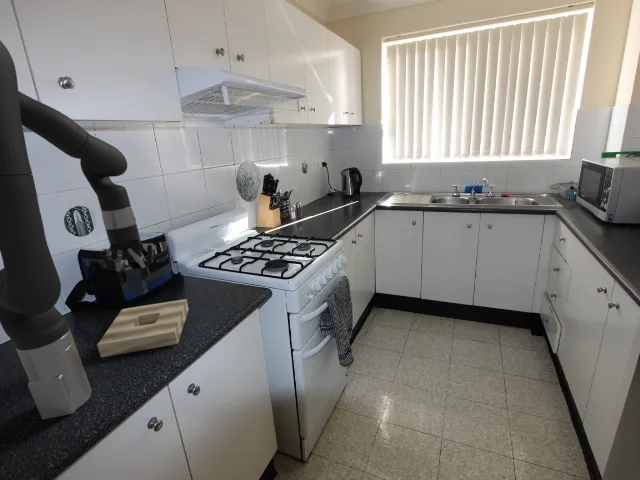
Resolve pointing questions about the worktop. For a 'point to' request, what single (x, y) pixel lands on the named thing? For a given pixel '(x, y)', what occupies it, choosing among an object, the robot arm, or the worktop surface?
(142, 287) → the vaping device
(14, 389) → the worktop surface
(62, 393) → the robot arm
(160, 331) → the socket dock
